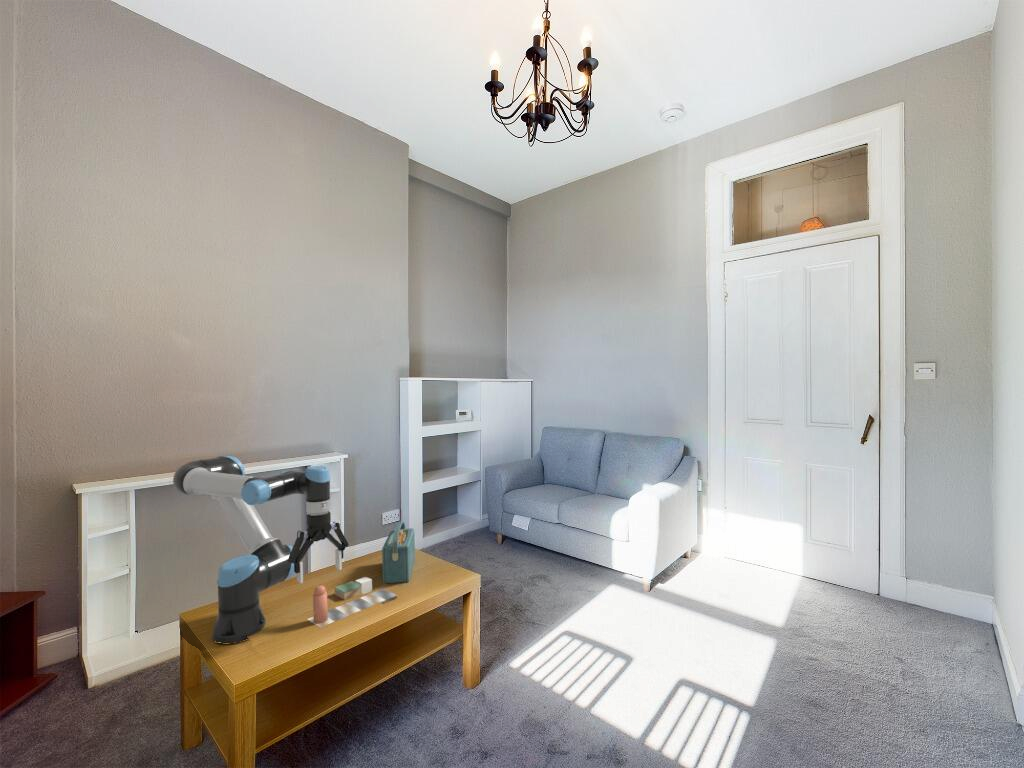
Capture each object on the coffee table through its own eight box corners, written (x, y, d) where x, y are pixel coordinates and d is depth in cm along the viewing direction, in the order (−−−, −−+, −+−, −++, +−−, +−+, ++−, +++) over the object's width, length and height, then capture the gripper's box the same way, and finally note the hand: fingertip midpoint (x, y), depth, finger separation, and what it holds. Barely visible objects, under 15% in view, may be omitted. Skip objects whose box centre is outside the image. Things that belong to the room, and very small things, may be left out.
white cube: (361, 583, 179) (371, 579, 183) (355, 580, 182) (365, 576, 185) (361, 595, 179) (372, 591, 183) (355, 591, 182) (365, 587, 185)
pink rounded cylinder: (317, 624, 155) (316, 589, 155) (311, 620, 157) (310, 586, 157) (330, 619, 158) (329, 585, 158) (323, 615, 161) (322, 582, 161)
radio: (391, 561, 213) (390, 517, 213) (415, 559, 214) (414, 516, 215) (381, 585, 188) (380, 535, 188) (409, 583, 189) (408, 533, 189)
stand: (344, 603, 172) (344, 592, 172) (335, 597, 177) (334, 587, 177) (361, 596, 178) (361, 585, 178) (351, 591, 182) (351, 581, 182)
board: (320, 631, 153) (320, 627, 153) (307, 622, 159) (307, 619, 159) (396, 598, 176) (396, 594, 176) (383, 591, 181) (383, 588, 181)
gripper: (286, 523, 146) (287, 591, 146) (357, 506, 165) (359, 566, 165) (275, 519, 151) (277, 584, 151) (346, 503, 170) (347, 561, 170)
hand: (320, 575), depth 158 cm, fingers open, 13 cm apart
